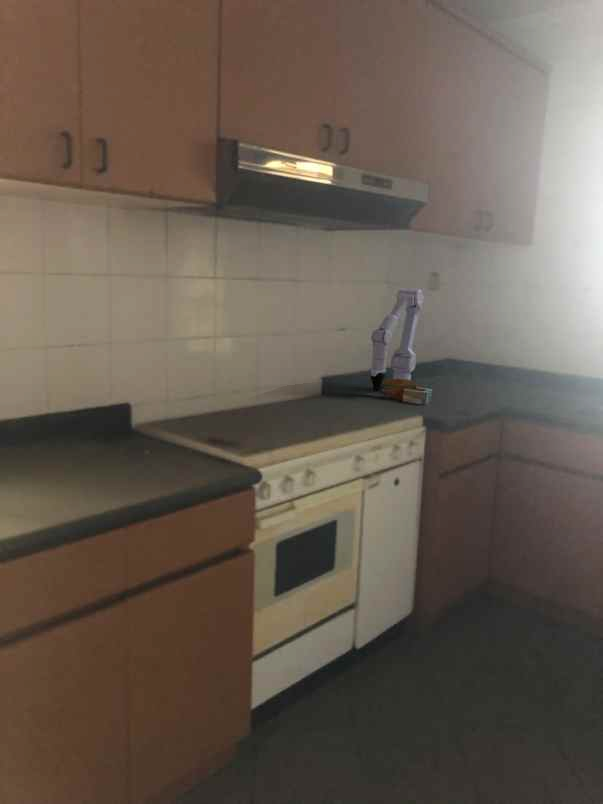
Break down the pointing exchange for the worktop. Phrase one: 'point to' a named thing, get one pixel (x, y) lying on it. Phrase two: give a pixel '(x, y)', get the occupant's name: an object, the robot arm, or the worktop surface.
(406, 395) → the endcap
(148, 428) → the worktop surface
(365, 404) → the worktop surface
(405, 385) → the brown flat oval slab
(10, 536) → the worktop surface
